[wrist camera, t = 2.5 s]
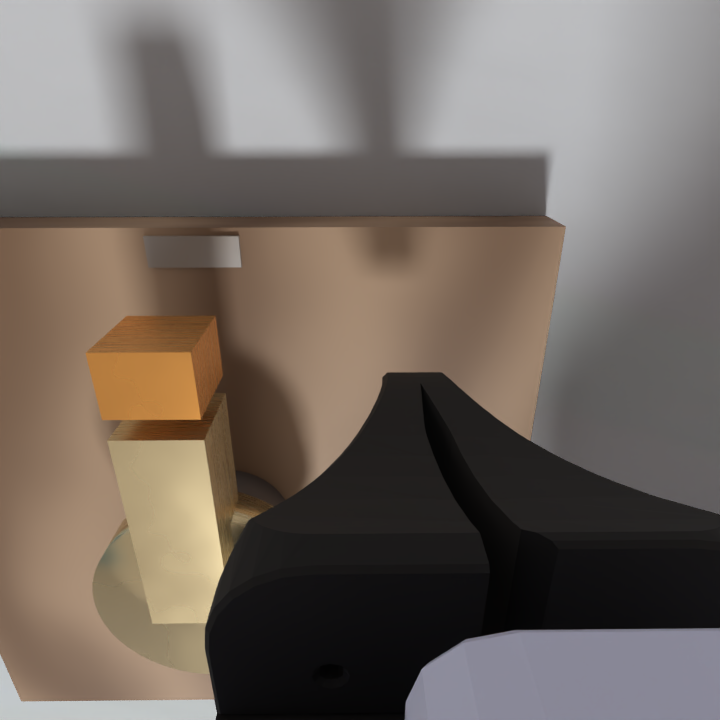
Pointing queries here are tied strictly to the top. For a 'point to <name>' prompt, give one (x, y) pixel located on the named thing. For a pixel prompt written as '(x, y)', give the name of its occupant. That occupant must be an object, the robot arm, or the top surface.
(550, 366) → the top surface
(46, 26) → the top surface
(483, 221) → the board
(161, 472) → the lever handle
